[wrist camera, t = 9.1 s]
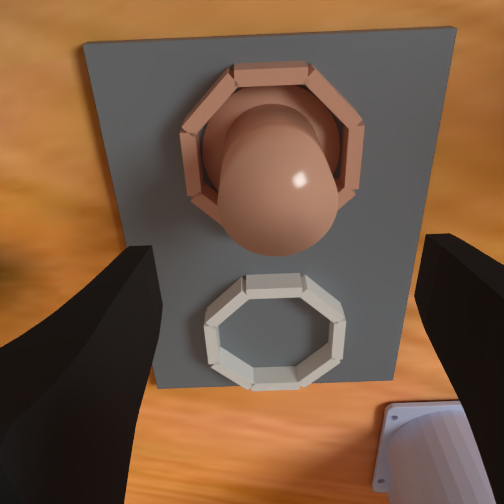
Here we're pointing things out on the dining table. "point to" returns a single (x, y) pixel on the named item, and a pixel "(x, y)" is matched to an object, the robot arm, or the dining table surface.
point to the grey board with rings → (207, 188)
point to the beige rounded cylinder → (275, 182)
